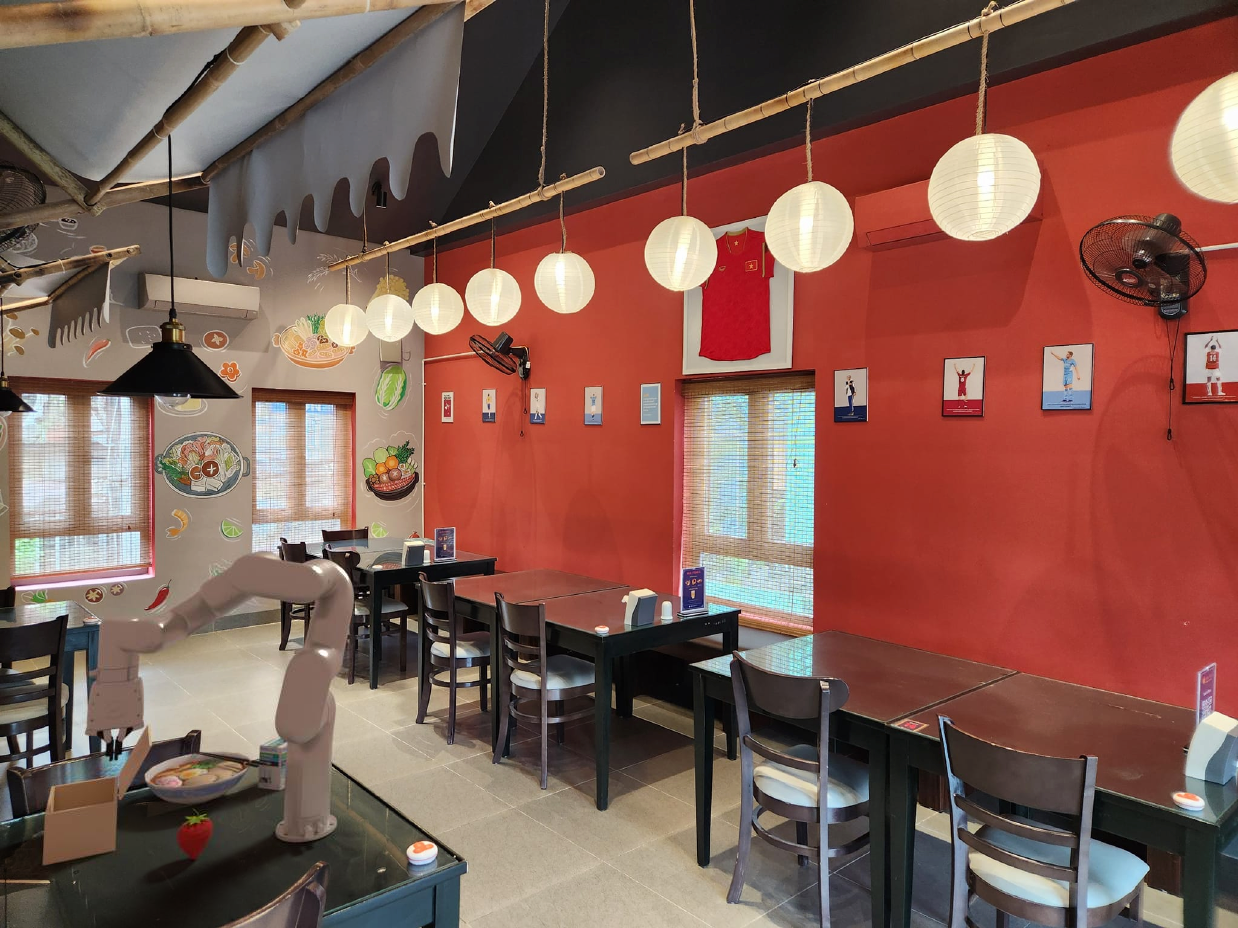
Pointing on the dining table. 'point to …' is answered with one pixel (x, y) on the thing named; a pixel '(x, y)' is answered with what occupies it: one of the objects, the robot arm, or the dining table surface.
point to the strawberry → (194, 835)
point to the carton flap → (134, 761)
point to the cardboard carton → (80, 820)
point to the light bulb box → (272, 764)
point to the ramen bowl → (198, 776)
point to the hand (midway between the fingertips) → (113, 758)
